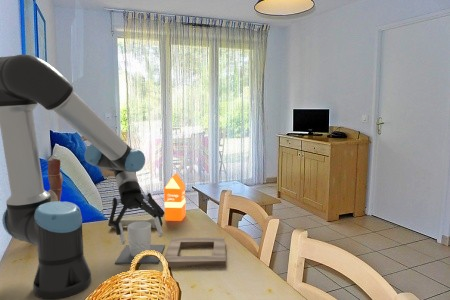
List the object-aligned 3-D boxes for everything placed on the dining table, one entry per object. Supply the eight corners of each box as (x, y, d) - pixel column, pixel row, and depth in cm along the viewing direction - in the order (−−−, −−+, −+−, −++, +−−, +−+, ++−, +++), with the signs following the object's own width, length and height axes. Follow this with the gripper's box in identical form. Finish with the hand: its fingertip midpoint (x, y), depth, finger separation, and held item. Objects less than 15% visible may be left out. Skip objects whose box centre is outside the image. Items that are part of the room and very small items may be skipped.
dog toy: (160, 225, 152) (160, 213, 151) (158, 229, 146) (158, 218, 145) (113, 225, 151) (113, 214, 151) (109, 230, 145) (109, 218, 145)
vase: (54, 235, 139) (49, 161, 135) (40, 233, 141) (34, 160, 137) (73, 227, 149) (69, 157, 145) (59, 225, 151) (55, 156, 147)
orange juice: (185, 214, 165) (185, 172, 162) (181, 220, 156) (180, 176, 153) (169, 214, 166) (168, 172, 163) (164, 220, 157) (163, 176, 154)
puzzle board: (225, 266, 112) (225, 260, 111) (163, 267, 111) (162, 261, 111) (224, 242, 131) (224, 237, 131) (171, 243, 131) (171, 237, 131)
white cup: (126, 251, 123) (125, 223, 121) (149, 246, 126) (147, 220, 125) (130, 259, 116) (129, 230, 114) (154, 255, 119) (153, 226, 118)
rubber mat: (158, 263, 114) (158, 261, 114) (115, 264, 114) (115, 262, 114) (164, 246, 128) (164, 244, 128) (126, 246, 128) (126, 245, 128)
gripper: (157, 187, 138) (173, 236, 127) (92, 195, 125) (104, 251, 114) (162, 176, 133) (179, 226, 122) (94, 184, 120) (107, 241, 109)
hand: (143, 238), depth 118 cm, fingers open, 12 cm apart
